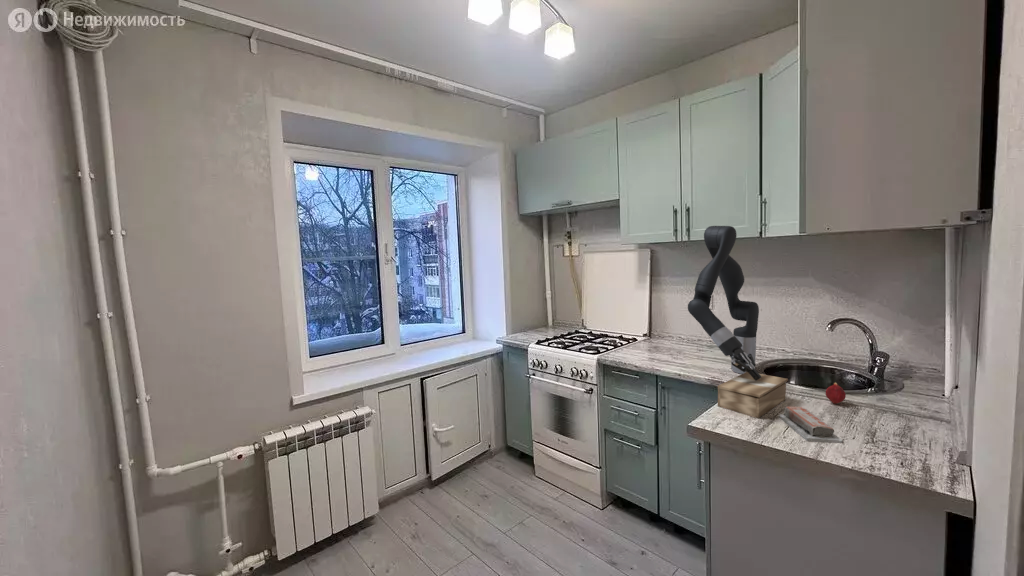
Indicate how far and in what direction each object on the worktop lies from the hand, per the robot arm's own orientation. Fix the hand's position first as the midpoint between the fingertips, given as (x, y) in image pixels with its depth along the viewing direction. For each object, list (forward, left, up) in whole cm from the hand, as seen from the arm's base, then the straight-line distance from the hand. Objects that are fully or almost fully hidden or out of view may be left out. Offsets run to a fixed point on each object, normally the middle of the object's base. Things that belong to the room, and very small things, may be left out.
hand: (758, 379), depth 150 cm
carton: (-2, -1, -10) cm, 10 cm away
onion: (+4, +28, -10) cm, 30 cm away
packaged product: (+20, +2, -11) cm, 23 cm away
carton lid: (-2, -1, -3) cm, 3 cm away
